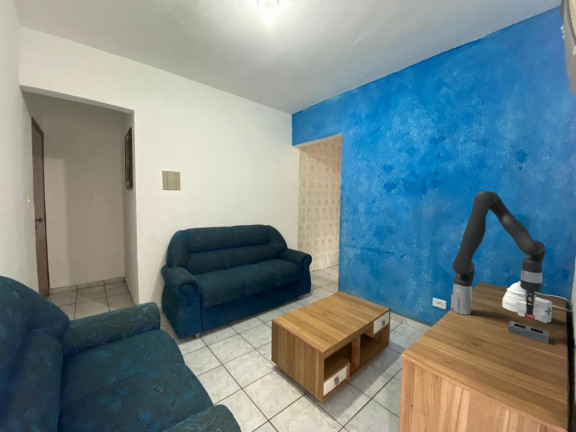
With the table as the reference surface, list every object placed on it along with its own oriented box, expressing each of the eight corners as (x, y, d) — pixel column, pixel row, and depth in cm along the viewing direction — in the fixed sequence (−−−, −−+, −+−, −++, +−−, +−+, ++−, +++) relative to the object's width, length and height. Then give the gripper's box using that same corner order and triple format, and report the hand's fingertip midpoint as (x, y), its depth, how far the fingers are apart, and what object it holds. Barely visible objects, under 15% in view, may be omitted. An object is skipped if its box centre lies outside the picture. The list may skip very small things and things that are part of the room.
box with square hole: (508, 331, 122) (508, 325, 121) (509, 326, 126) (509, 320, 126) (548, 343, 111) (548, 336, 111) (548, 338, 116) (548, 331, 116)
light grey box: (515, 314, 121) (516, 301, 120) (516, 312, 123) (516, 299, 122) (544, 321, 113) (544, 308, 113) (544, 319, 115) (544, 306, 115)
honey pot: (536, 313, 141) (538, 284, 140) (515, 313, 141) (517, 284, 140) (516, 304, 154) (518, 277, 153) (496, 304, 154) (498, 277, 153)
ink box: (526, 316, 138) (527, 296, 137) (531, 314, 139) (533, 295, 139) (546, 323, 130) (547, 302, 129) (551, 322, 131) (552, 301, 131)
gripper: (542, 285, 109) (540, 320, 110) (542, 278, 119) (540, 311, 120) (519, 281, 115) (518, 315, 116) (521, 275, 124) (520, 306, 125)
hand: (529, 313), depth 118 cm, fingers closed on light grey box, 3 cm apart
